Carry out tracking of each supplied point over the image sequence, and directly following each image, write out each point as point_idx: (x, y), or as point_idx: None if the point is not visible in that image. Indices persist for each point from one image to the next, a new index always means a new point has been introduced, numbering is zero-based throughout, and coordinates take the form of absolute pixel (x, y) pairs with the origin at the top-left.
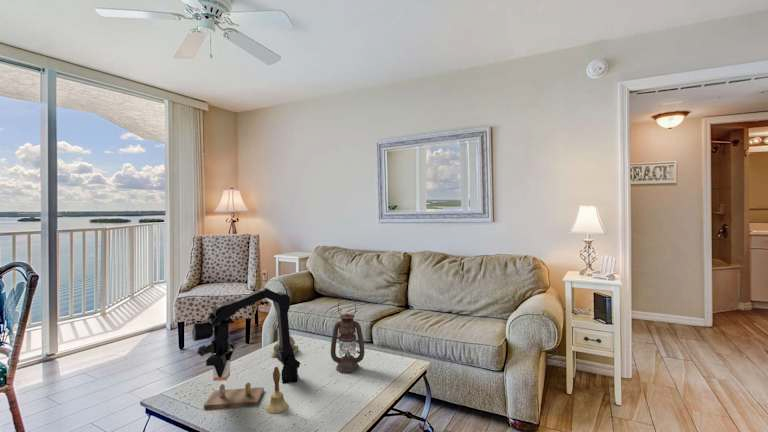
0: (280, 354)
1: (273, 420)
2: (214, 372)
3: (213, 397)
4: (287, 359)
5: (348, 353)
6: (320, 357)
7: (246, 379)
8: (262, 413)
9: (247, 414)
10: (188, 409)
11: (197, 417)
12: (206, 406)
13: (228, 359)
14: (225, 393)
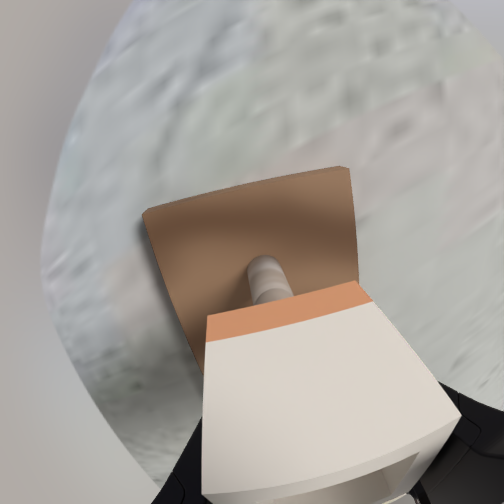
0: (427, 500)
1: (154, 457)
2: (209, 405)
3: (250, 217)
4: (410, 492)
5: (417, 500)
6: (498, 389)
7: (464, 264)
8: (179, 437)
9: (159, 408)
10: (136, 113)
11: (74, 226)
12: (148, 227)
13: (427, 482)
14: (307, 267)
